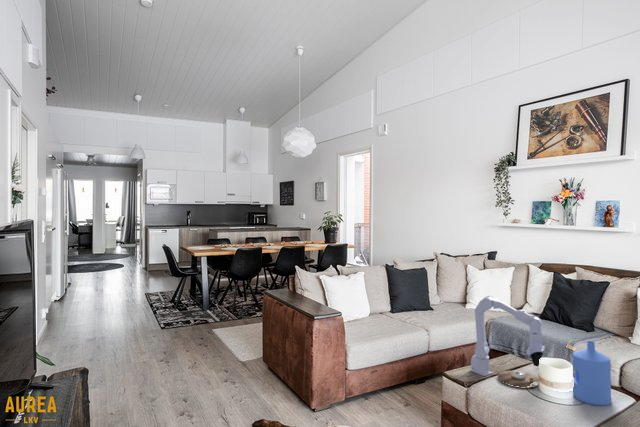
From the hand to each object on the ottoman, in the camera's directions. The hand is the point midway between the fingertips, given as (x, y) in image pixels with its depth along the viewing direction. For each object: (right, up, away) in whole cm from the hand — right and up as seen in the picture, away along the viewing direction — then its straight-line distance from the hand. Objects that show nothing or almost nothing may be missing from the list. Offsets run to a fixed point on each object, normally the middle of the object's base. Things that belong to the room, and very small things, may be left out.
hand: (536, 365), depth 217 cm
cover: (-8, -8, +3) cm, 12 cm away
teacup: (+17, -10, +2) cm, 20 cm away
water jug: (+17, -10, -19) cm, 27 cm away
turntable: (-8, -10, +3) cm, 13 cm away
